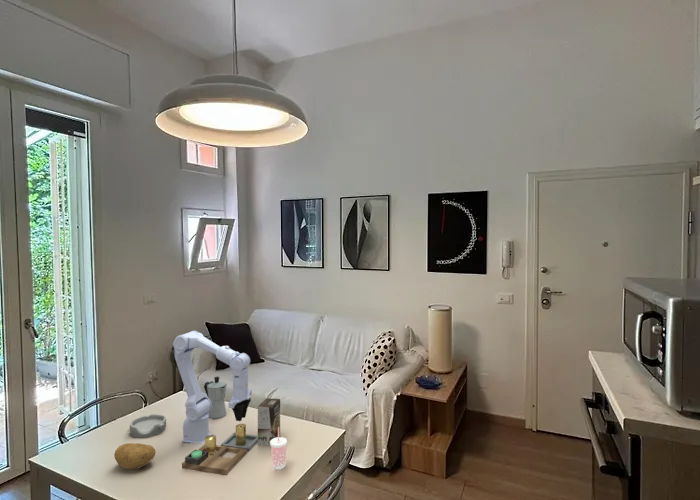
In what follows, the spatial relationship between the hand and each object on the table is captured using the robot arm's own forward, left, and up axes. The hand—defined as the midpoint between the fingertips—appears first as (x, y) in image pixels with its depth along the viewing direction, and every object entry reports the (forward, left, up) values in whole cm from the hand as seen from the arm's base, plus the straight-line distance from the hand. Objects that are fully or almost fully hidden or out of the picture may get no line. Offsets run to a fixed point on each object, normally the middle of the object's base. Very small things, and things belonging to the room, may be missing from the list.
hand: (240, 418), depth 156 cm
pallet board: (-3, -13, -10) cm, 17 cm away
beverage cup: (+21, -10, -11) cm, 26 cm away
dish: (-45, +1, -11) cm, 46 cm away
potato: (-29, -23, -11) cm, 39 cm away
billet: (0, 0, -10) cm, 10 cm away
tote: (0, 0, -10) cm, 10 cm away
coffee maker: (-26, +22, -11) cm, 36 cm away
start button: (-8, -17, -8) cm, 21 cm away
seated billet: (-7, -10, -10) cm, 16 cm away
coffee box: (+10, +5, -11) cm, 15 cm away
